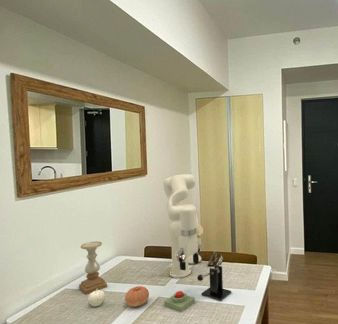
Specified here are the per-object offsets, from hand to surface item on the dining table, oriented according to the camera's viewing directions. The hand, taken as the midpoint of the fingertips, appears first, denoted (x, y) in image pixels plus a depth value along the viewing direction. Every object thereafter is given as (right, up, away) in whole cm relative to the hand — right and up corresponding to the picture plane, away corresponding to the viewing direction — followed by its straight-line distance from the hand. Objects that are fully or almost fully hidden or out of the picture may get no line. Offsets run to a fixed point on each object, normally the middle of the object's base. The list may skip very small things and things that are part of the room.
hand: (189, 266), depth 137 cm
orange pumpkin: (-24, -17, -5) cm, 30 cm away
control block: (-4, -16, -6) cm, 17 cm away
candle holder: (-55, -17, +13) cm, 59 cm away
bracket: (+13, -15, +3) cm, 20 cm away
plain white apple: (-44, -17, -5) cm, 47 cm away
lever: (+9, -8, +5) cm, 13 cm away
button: (-4, -12, -6) cm, 14 cm away
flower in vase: (-6, -15, +46) cm, 49 cm away
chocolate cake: (+9, -14, +42) cm, 45 cm away
